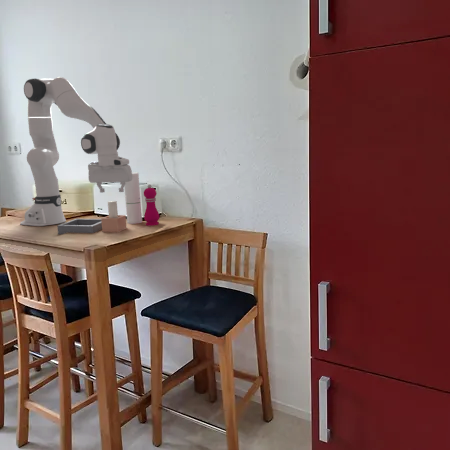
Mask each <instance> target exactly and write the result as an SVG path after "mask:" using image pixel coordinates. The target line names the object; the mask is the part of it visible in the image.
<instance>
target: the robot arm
mask: <svg viewBox="0 0 450 450" xmlns="http://www.w3.org/2000/svg"><path fill="white" fill-rule="evenodd" d="M23 93H24V96H25V97H26V99H27V120H28V121H27V123H28V131H29V132H28V133H29V136H30V137H31V140H32V142H33V147H32V148H31V149H30V150H28V153H27V154H26V162H27V164H28V165H29V167H30V172H31V173H32V176H33V181H34V186H35V187H34V188H35V194H36V195H35V197H32V201H34V202H33V204H32V205H31V206H30V207H29V208H28V209H27V210H26V211H25V212H24V220H22V221H20V225H24V226H33V227H34V226H35V227H44V226H50V225H60V224H63V223H66V222H67V219H66V217H65V215H64V212H63V208H62V207H63V206H62V196H61V194H60V187H59V179H58V177H57V175H56V172H55V168H54V166H56V164H57V163H58V162H59V160H60V153H59V151H58V146H57V143H56V139H55V134H54V128H53V127H54V126H53V119H52V118H53V116H52V105H54V104H55V105H56V106H57V108H58V110H59V112H61V113H62V114H63V115H64V116H66V117H68V118H70V119H74V120H79V121H83V122H85V123H88V124H89V125H90V126H91V127H92V128H93V130H91V131H89V132H86V133H84V134H83V135H82V136H81V139H80V144H81V145H80V146H81V148H82V151H83V152H84V153H85V154H88V155H97V161H90V162H89V163H88V165H87V169H88V182H89V183H91V184H93V183H94V184H96V186H97V187H98V189H99V193H105V191H106V190H105V188H104V187H103V186H102V185H103V183H120V187H119V188H118V192H119V193H125V188H124V186H125V182H129V181H131V180H132V178H133V177H132V172H133V171H132V166H130V165H129V164H130V160H129V159H128V158H125V157H122V156H119V152H118V150H119V149H120V146H121V145H120V144H121V140H120V137H119V136H118V134H117V133H116V131H115V128H114V126H113V125H112V124H108V123H106V122H105V120H104V119H103V118H102V116H101V115H100V114H99V113H98V112H97V111H96V109H94V107H92V106H91V105H90V104H88V103H87V102H86V101H85V100H84V99H83V98H82V97H81V96H80V95H79V93H78V91H77V90H76V89H75V87H74V86H73V85H72V83H70V81H69V80H68V79H67V78H65V77H62V76H58V77H55V78H29V79H26V81H25V83H24V85H23Z"/></svg>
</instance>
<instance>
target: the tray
mask: <svg viewBox="0 0 450 450" xmlns="http://www.w3.org/2000/svg"><path fill="white" fill-rule="evenodd" d="M56 228H57V229H56V230H57V235H65V234H67V233H73V234H74V233H76V234H77V233H78V234H80V233H81V234H86V233H87V234H94V233H96V232H99V231H100V230H102V222H101V218H75V219H72V220H69V221H65V222H63V223H59V224H56Z"/></svg>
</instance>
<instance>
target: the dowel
mask: <svg viewBox="0 0 450 450" xmlns="http://www.w3.org/2000/svg"><path fill="white" fill-rule="evenodd" d="M117 202H118V201H116V200H111V201H110V200H109V201H107V209H108V216H109V218H118V215H119V213H118V211H119V210H118V203H117Z"/></svg>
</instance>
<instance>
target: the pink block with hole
mask: <svg viewBox="0 0 450 450" xmlns="http://www.w3.org/2000/svg"><path fill="white" fill-rule="evenodd" d="M100 219H101V222H102V229H101V230H102V232H104V233H105V232H106V233H108V232H109V233H110V232H111V233H119V232H122V231H124V230H125V229H127V227H128V226H127V214H126V215H125V214H118V218H109V215H107V216H104V217H101V218H100Z"/></svg>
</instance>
